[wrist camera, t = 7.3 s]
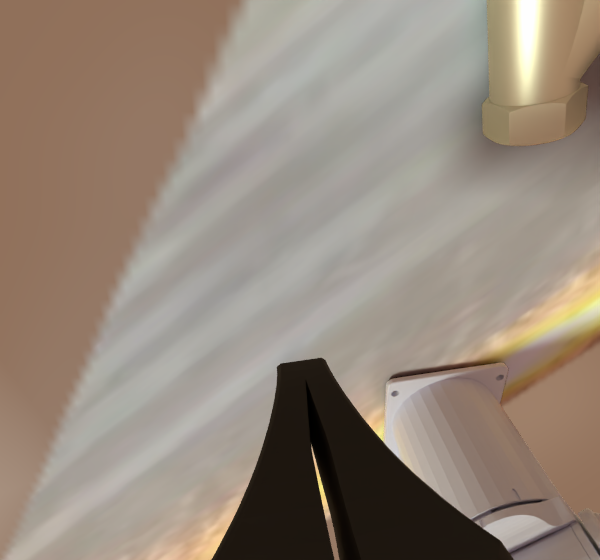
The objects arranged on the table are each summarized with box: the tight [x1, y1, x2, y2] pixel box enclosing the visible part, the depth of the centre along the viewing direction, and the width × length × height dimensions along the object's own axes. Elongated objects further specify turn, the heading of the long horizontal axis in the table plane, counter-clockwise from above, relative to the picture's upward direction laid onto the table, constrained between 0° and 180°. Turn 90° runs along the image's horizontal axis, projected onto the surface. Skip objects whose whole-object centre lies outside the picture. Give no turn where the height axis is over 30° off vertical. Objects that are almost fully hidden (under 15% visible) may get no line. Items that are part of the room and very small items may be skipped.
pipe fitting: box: [482, 0, 600, 146], centre depth 17 cm, size 8×4×7 cm
